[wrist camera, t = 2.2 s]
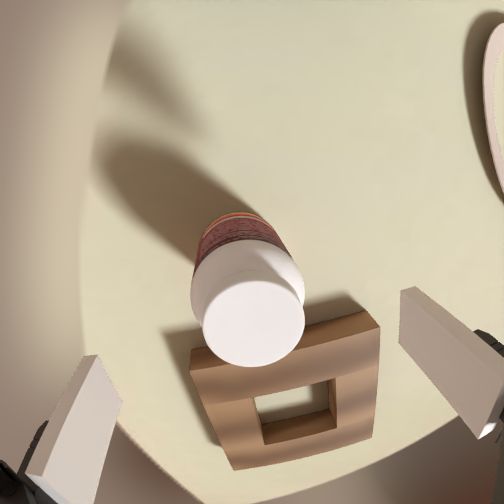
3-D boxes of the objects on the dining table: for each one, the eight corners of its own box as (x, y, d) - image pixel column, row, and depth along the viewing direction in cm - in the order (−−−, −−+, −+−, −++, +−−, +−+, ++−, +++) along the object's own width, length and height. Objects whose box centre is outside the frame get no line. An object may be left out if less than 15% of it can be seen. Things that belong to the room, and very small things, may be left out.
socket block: (191, 349, 27) (189, 370, 24) (366, 310, 27) (380, 326, 24) (232, 451, 32) (233, 470, 29) (363, 420, 32) (371, 437, 29)
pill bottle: (182, 242, 24) (154, 313, 13) (249, 194, 23) (272, 231, 13) (230, 301, 26) (238, 396, 15) (294, 258, 25) (342, 334, 14)
